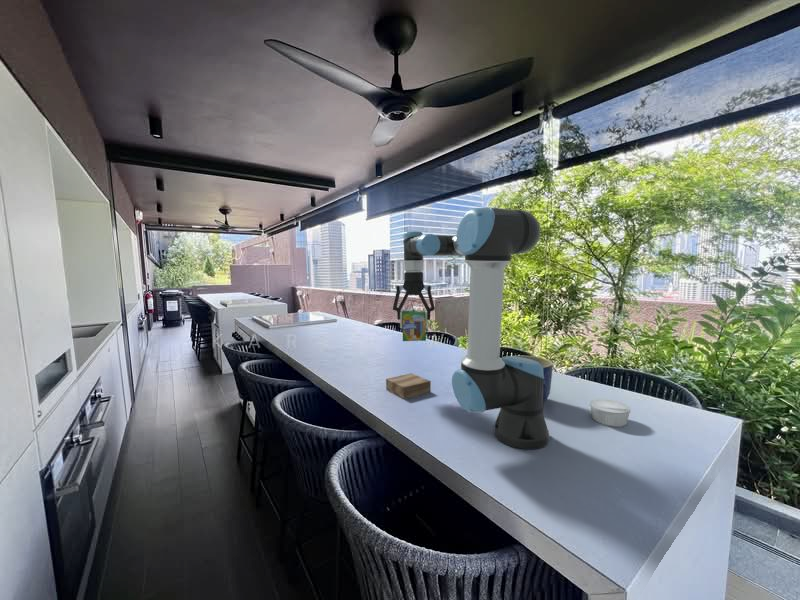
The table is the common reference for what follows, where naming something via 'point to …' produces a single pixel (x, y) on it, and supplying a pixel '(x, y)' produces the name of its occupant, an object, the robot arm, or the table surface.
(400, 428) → the table surface
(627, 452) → the table surface
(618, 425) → the ramekin
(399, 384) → the walnut base block
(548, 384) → the planter
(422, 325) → the chalk box
